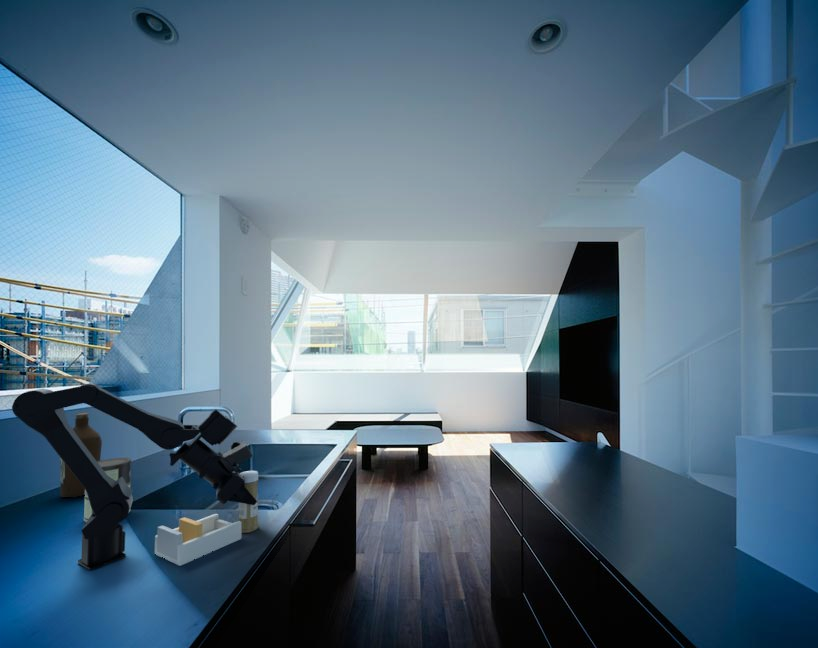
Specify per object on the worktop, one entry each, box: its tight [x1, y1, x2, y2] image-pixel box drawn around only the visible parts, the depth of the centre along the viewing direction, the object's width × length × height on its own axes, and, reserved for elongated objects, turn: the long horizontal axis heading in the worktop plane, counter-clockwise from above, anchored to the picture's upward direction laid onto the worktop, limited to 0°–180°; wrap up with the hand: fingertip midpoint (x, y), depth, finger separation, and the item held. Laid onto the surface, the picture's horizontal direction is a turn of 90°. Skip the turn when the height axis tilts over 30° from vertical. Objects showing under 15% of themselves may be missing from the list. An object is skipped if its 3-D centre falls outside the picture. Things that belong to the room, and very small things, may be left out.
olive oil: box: [59, 412, 103, 498], centre depth 132 cm, size 11×11×25 cm
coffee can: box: [83, 457, 132, 523], centre depth 112 cm, size 10×10×14 cm
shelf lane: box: [154, 513, 242, 566], centre depth 91 cm, size 14×10×6 cm
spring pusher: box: [178, 516, 202, 543], centre depth 90 cm, size 1×7×5 cm, turn 57°
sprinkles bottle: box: [238, 470, 259, 534], centre depth 100 cm, size 5×5×13 cm
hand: (254, 500), depth 100 cm, fingers closed on sprinkles bottle, 4 cm apart
